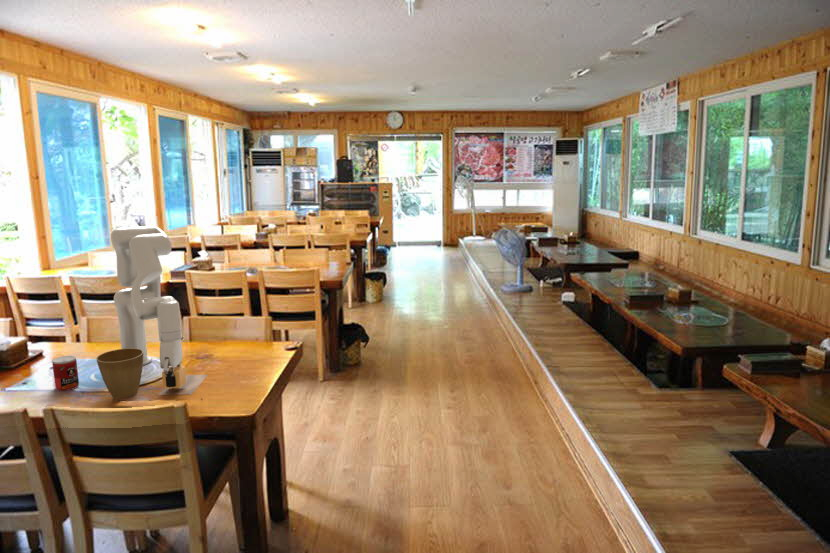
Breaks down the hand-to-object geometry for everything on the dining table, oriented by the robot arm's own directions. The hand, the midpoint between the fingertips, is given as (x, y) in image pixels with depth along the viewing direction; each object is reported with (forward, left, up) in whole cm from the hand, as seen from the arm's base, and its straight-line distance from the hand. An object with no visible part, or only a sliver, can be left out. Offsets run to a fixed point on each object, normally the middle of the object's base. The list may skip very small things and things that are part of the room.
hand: (174, 382), depth 213 cm
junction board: (+1, +5, -4) cm, 7 cm away
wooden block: (0, 0, -1) cm, 1 cm away
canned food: (-43, +9, -4) cm, 44 cm away
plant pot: (-17, -3, -4) cm, 18 cm away
